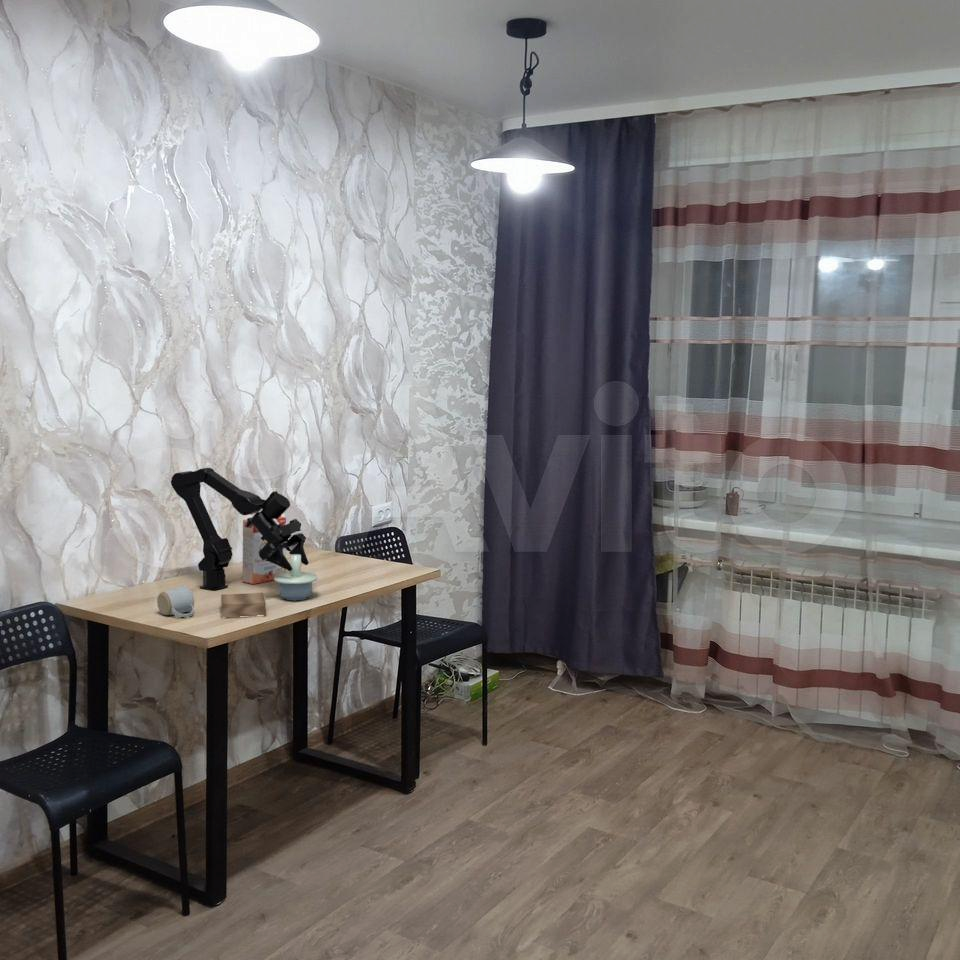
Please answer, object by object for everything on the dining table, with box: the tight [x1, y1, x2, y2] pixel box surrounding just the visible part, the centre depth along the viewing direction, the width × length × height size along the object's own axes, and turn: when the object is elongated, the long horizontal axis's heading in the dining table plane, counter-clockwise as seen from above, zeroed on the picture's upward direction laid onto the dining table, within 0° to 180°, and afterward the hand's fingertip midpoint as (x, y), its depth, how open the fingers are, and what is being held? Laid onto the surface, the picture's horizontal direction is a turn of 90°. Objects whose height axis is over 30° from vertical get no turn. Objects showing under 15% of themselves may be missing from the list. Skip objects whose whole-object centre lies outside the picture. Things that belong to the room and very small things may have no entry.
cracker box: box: [242, 515, 287, 585], centre depth 322 cm, size 14×6×21 cm, turn 143°
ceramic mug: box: [156, 584, 195, 619], centre depth 279 cm, size 11×8×8 cm
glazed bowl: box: [278, 582, 313, 601], centre depth 301 cm, size 10×10×6 cm
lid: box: [273, 554, 318, 584], centre depth 300 cm, size 13×13×8 cm
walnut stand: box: [220, 592, 267, 618], centre depth 283 cm, size 12×12×4 cm
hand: (299, 567), depth 299 cm, fingers open, 9 cm apart
